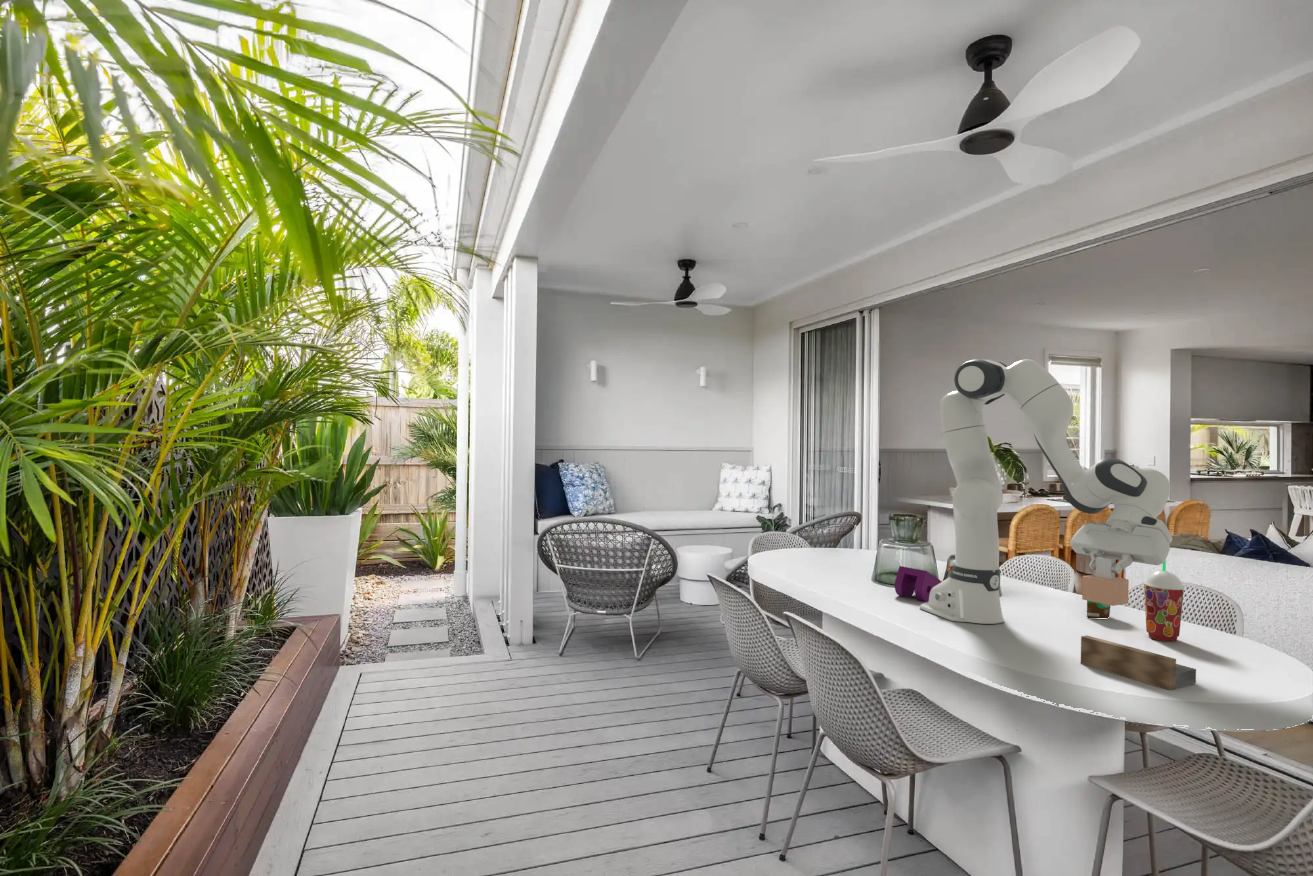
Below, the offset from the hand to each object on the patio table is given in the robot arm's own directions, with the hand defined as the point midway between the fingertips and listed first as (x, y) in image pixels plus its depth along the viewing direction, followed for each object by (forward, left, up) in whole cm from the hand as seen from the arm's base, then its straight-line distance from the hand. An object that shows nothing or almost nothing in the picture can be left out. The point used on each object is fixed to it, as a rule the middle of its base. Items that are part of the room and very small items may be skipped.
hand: (1103, 569), depth 163 cm
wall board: (+11, -7, -20) cm, 24 cm away
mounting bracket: (-60, +9, -20) cm, 64 cm away
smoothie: (-2, +28, -20) cm, 35 cm away
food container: (-22, +36, -20) cm, 47 cm away
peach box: (0, +1, -7) cm, 7 cm away
